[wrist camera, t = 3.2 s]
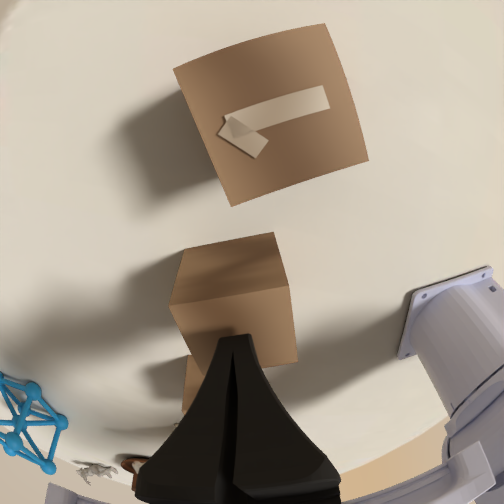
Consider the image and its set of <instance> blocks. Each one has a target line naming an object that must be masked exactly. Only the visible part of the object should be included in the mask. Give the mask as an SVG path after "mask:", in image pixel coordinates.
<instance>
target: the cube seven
mask: <svg viewBox="0 0 504 504" xmlns="http://www.w3.org/2000/svg"><path fill="white" fill-rule="evenodd" d="M204 378H205V376H203V375H202V373H201V371H200V369H199V367H198V366H197V364H196V362H195V360H194V358H193V356H192V355H188V359H187V368H186V376H185V385H184V394H183V403H182V412H183V414H184V415H185V414H186V412H187V411H188V409H189V407H190V406H191V404H192V402H193V400H194V398H195V397H196V395H197V393H198V390H199V388H200V386H201V384H202V382H203V380H204Z"/></svg>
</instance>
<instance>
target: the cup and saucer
mask: <svg viewBox="0 0 504 504" xmlns="http://www.w3.org/2000/svg"><path fill="white" fill-rule="evenodd" d="M147 460H148V459H140V458H132V459H127V460H124V461H122V463H121V467H122V468H123V469H125V470H127V471H128V472H131V473H133V474H134V475H133V482H132V490H133V491H135V488H136V480H137V475H138V474H137V473H136V471H135V469H134V468H133V466H132V463H133V462H134V461H139V462H141V463H144V462H146V461H147Z"/></svg>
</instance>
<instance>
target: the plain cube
mask: <svg viewBox="0 0 504 504" xmlns="http://www.w3.org/2000/svg"><path fill="white" fill-rule="evenodd" d="M168 306H169V309H170V311H171V313H172V315H173V317H174V319H175V321H176V324H177V326H178V328H179V330H180V332H181V334H182V336H183V338H184V340H185V342H186V344H187V346H188V348H189V350H190V352H191V354H192V356H193V358H194V360H195V362H196V364H197V366H198V367H199V369H200V371H201V373H202V375H203V376H205V375H206V373H207V371H208V368H209V366H210V363H211V360H212V358H213V355H214V352H215V349H216V346H217V342H218V339H219V338H221V337H227V336H234V335H240V334H247V333H249V334H251V335H252V339H253V342H254V346H255V350H256V353H257V357H258V361H259V364H260V366H261V368H267V367H273V366H279V365H284V364H290V363H295V362H298V356H297V347H296V338H295V330H294V321H293V313H292V305H291V297H290V289H289V284H288V280H287V277H286V273H285V270H284V266H283V263H282V259H281V256H280V252H279V249H278V245H277V242H276V238H275V235H274V232H270V233H265V234H259V235H254V236H249V237H244V238H238V239H233V240H228V241H223V242H218V243H212V244H207V245H202V246H197V247H192V248H187V249H185V250H184V253H183V256H182V260H181V263H180V266H179V270H178V273H177V277H176V280H175V283H174V287H173V291H172V294H171V298H170V301H169V305H168Z"/></svg>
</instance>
